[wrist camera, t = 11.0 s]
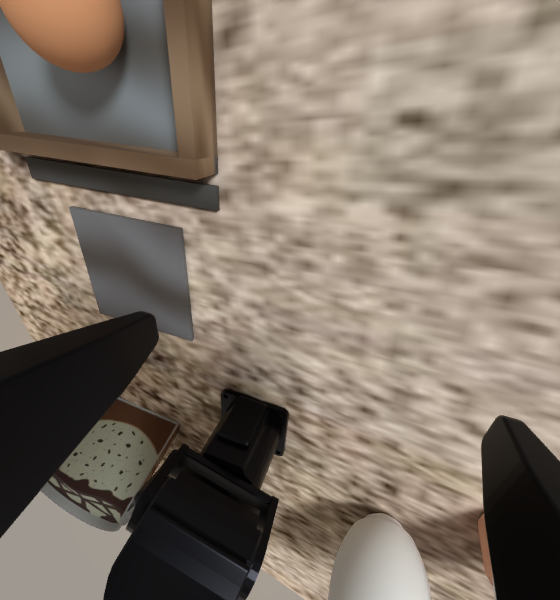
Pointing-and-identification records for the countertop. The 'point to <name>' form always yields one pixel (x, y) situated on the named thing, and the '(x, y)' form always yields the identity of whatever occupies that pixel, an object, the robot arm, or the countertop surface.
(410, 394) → the countertop surface
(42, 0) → the ball
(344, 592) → the sauce bottle
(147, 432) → the food container
